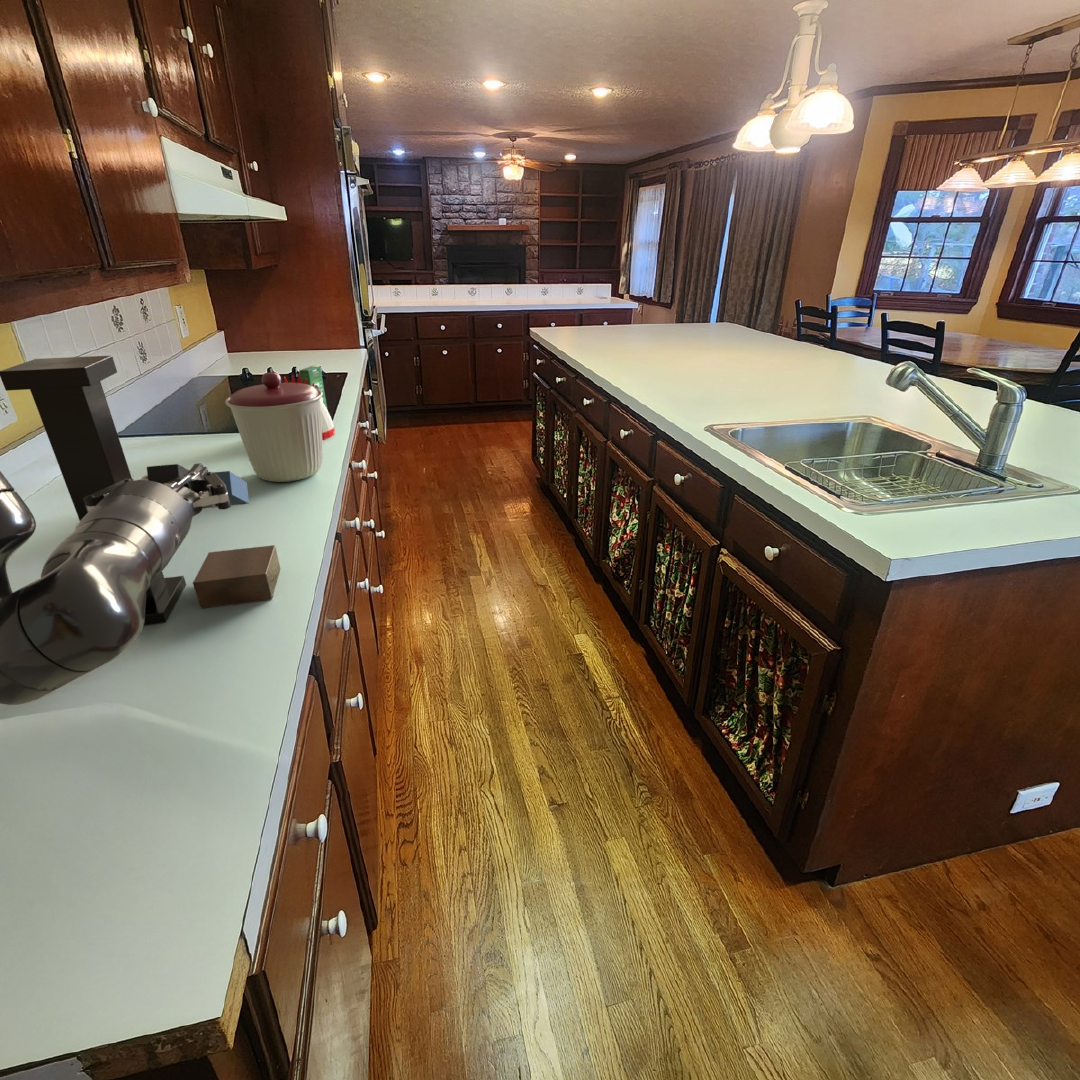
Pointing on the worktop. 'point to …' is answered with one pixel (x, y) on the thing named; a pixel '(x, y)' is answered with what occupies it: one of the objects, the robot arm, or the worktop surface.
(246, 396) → the canister
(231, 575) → the brown wooden block
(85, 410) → the stand
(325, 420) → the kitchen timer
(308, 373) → the coffee box
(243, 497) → the back pad
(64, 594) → the robot arm
